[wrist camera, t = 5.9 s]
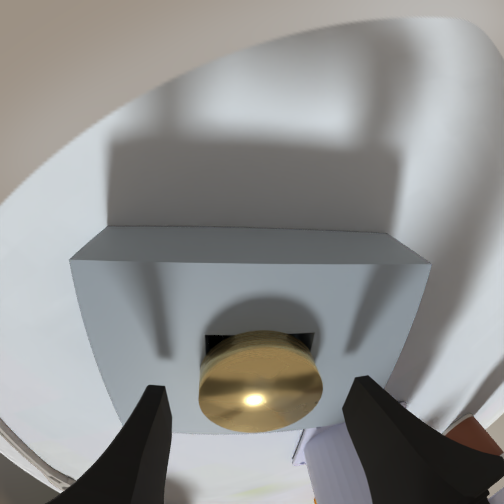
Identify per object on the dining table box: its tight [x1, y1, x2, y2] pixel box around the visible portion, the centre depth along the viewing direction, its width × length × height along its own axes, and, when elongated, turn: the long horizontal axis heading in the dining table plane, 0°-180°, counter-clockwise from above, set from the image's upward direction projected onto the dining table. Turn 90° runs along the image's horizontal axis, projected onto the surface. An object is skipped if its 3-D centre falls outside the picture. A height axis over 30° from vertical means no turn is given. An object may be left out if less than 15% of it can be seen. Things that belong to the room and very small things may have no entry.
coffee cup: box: [442, 413, 504, 459], centre depth 21 cm, size 9×9×12 cm
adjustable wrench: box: [0, 419, 76, 491], centre depth 20 cm, size 25×6×2 cm, turn 5°
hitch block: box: [69, 226, 432, 435], centre depth 13 cm, size 14×10×4 cm
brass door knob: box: [198, 330, 323, 433], centre depth 12 cm, size 5×5×6 cm
